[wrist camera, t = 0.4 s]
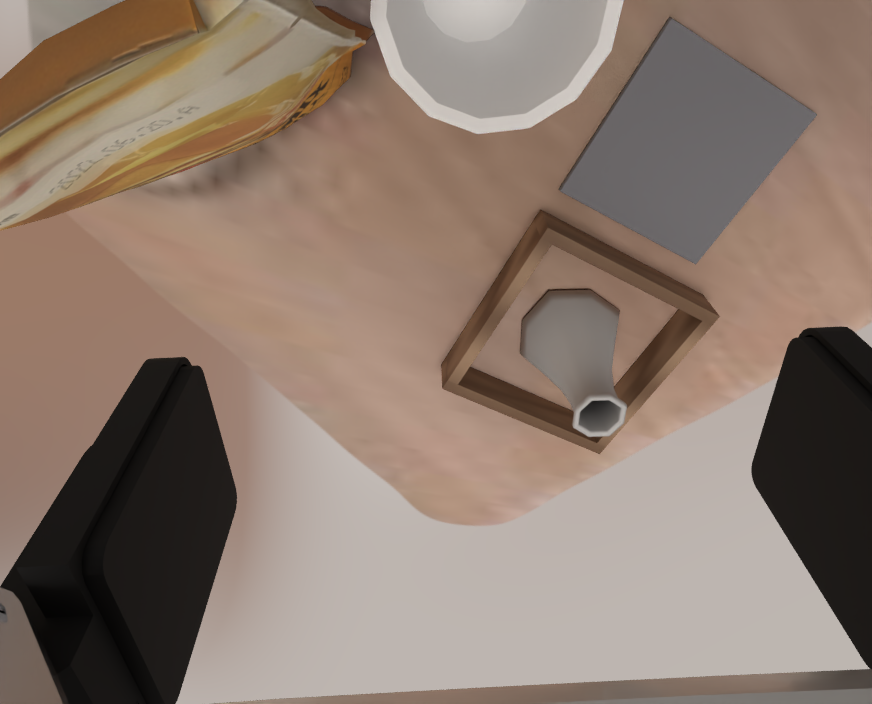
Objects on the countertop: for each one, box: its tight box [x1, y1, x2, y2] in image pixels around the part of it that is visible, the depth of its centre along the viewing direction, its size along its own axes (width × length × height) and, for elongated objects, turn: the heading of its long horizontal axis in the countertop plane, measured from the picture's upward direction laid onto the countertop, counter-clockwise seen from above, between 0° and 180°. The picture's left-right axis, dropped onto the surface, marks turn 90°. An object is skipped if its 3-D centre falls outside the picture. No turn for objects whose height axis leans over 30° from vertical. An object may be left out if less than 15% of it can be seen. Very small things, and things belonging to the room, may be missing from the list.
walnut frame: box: [441, 210, 720, 454], centre depth 46 cm, size 14×14×3 cm
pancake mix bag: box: [0, 0, 375, 230], centre depth 25 cm, size 7×19×28 cm, turn 109°
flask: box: [520, 290, 627, 437], centre depth 43 cm, size 7×7×10 cm
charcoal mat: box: [559, 17, 817, 264], centre depth 40 cm, size 11×11×1 cm
